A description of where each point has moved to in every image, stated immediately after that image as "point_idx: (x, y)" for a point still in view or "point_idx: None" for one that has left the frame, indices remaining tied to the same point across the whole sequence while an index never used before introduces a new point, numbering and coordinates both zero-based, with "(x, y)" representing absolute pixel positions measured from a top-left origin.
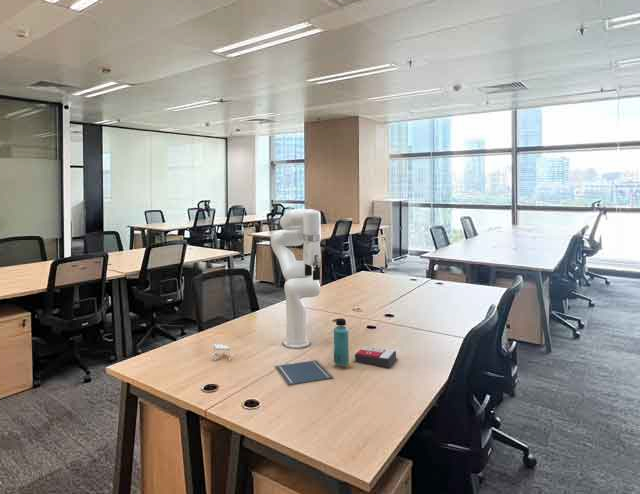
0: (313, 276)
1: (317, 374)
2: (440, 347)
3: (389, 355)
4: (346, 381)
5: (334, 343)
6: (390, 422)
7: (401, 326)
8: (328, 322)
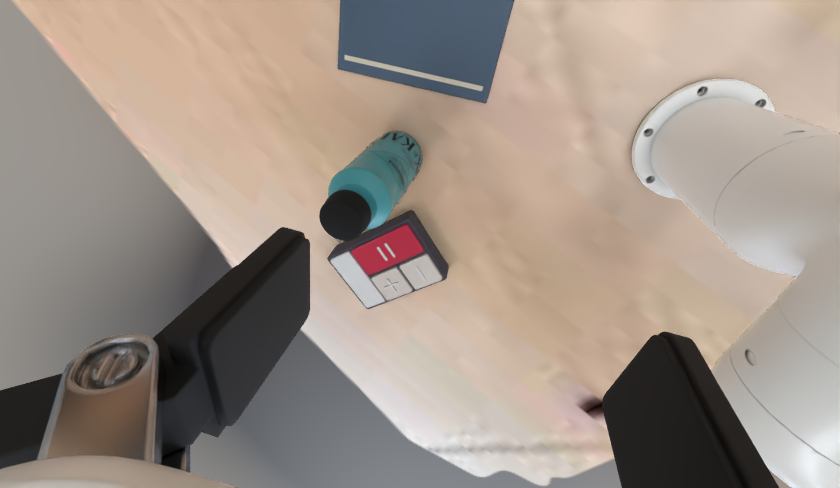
0: (252, 260)
1: (378, 32)
2: (386, 396)
3: (342, 276)
4: (305, 95)
5: (380, 152)
6: (87, 46)
7: (539, 444)
8: None
